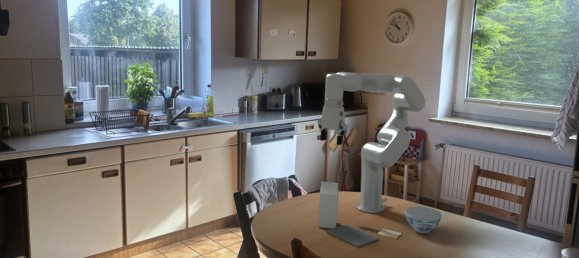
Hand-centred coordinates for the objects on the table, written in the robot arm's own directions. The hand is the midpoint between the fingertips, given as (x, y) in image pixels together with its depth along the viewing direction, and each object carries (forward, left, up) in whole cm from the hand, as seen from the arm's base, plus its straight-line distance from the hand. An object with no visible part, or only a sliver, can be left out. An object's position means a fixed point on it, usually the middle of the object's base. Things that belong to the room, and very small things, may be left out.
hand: (331, 142), depth 211 cm
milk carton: (+6, +6, -35) cm, 36 cm away
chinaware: (-23, +33, -35) cm, 53 cm away
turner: (-7, +24, -34) cm, 42 cm away
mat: (+5, +20, -34) cm, 40 cm away
